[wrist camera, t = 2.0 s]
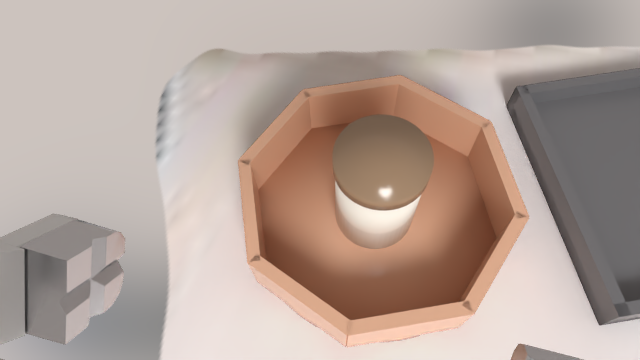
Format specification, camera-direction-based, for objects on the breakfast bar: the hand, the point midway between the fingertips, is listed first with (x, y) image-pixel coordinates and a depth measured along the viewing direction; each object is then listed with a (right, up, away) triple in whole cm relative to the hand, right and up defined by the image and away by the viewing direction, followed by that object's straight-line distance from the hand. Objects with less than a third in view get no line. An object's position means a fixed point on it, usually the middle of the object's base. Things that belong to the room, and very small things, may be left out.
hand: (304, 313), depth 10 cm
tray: (+25, +2, +26) cm, 37 cm away
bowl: (+4, 0, +26) cm, 26 cm away
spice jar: (+4, 0, +25) cm, 25 cm away
